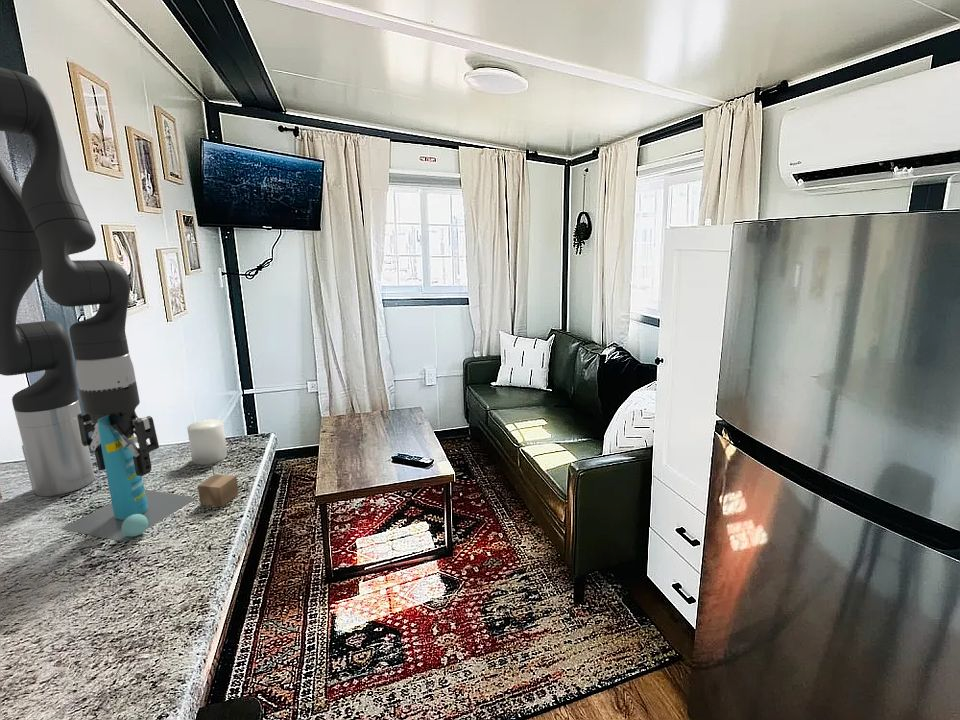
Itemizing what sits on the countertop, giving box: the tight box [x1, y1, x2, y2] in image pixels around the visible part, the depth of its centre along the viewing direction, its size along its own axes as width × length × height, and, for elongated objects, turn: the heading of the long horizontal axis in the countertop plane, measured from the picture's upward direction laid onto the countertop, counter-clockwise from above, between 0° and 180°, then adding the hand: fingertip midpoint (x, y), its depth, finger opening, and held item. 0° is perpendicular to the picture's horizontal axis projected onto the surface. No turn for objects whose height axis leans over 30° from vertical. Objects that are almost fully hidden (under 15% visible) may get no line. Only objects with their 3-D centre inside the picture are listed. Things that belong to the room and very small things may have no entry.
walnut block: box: [197, 473, 239, 507], centre depth 87 cm, size 4×4×4 cm
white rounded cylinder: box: [186, 418, 228, 466], centre depth 105 cm, size 7×7×8 cm
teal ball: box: [122, 514, 148, 538], centre depth 76 cm, size 4×4×4 cm
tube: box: [98, 415, 148, 520], centre depth 80 cm, size 7×5×19 cm, turn 12°
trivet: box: [61, 488, 198, 543], centre depth 83 cm, size 14×14×1 cm
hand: (125, 471), depth 81 cm, fingers open, 8 cm apart
